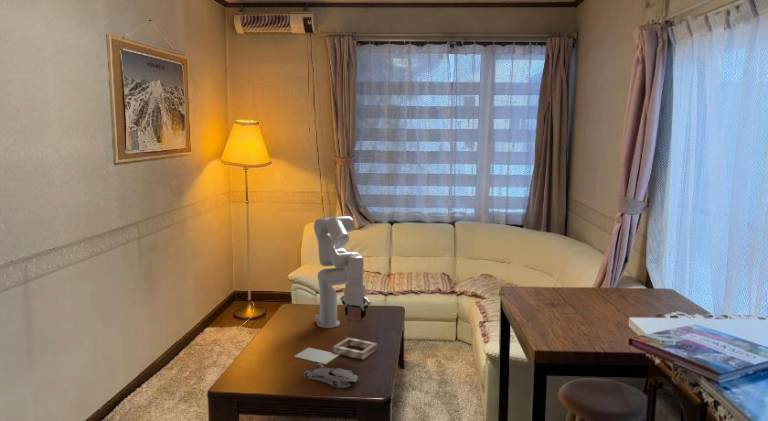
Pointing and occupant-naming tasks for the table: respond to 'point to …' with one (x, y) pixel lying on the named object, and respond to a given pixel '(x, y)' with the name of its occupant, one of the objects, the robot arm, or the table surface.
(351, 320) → the lighter
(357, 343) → the slot holder
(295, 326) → the table surface
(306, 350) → the mat
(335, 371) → the car model
